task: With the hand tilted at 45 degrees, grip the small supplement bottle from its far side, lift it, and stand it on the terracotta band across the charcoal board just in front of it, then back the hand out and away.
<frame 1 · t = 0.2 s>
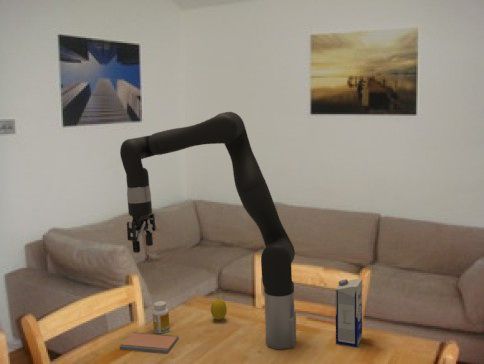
hand: (143, 248, 181), 29 cm above the table, tool pointing down, fingers open, 8 cm apart
supplement bottle: (161, 330, 187), on the table
lemon: (219, 320, 193), on the table
milk carton: (349, 341, 174), on the table
band board: (149, 344, 177), on the table
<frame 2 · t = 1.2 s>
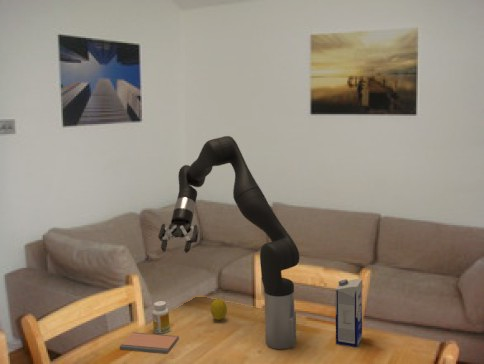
hand: (174, 251, 198), 23 cm above the table, tool tilted 45°, fingers open, 8 cm apart
nothing on the table moved.
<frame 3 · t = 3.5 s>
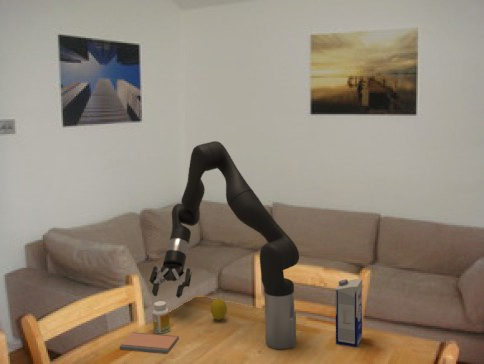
hand: (166, 296, 190), 10 cm above the table, tool tilted 45°, fingers open, 8 cm apart
nothing on the table moved.
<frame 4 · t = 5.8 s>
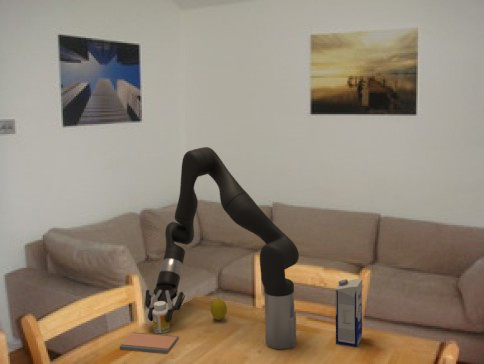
hand: (158, 320, 184), 4 cm above the table, tool tilted 45°, fingers closed on supplement bottle, 5 cm apart
supplement bottle: (161, 330, 187), on the table, touching gripper
everything else where it was.
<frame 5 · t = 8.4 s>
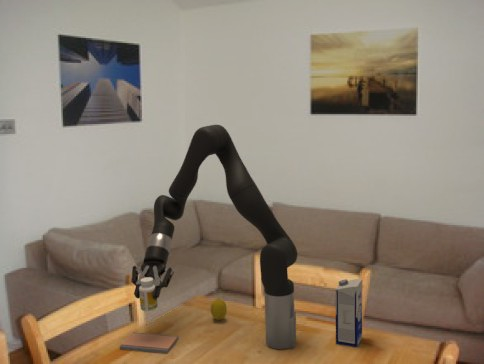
hand: (145, 297, 174), 16 cm above the table, tool tilted 45°, fingers closed on supplement bottle, 5 cm apart
supplement bottle: (149, 308, 176), point 11 cm above the table, touching gripper
everything else where it was.
when the fingers open (6 cm above the table, at t = 11.3 s): supplement bottle drops 1 cm, resting on band board.
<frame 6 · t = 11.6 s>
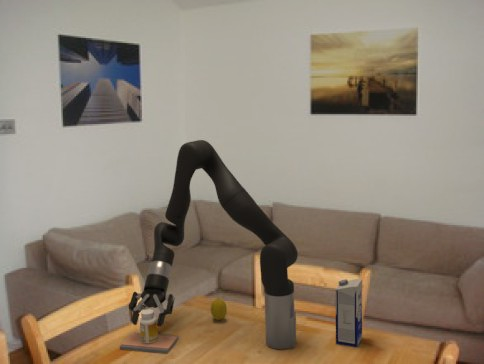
hand: (146, 325, 174), 7 cm above the table, tool tilted 45°, fingers open, 8 cm apart
supplement bottle: (149, 340, 177), point 1 cm above the table, touching band board
everything else where it was.
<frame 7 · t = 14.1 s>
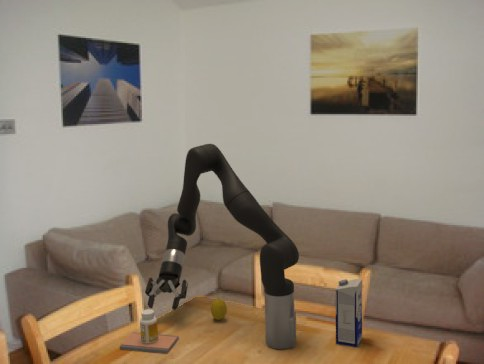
hand: (162, 308, 187), 7 cm above the table, tool tilted 45°, fingers open, 8 cm apart
nothing on the table moved.
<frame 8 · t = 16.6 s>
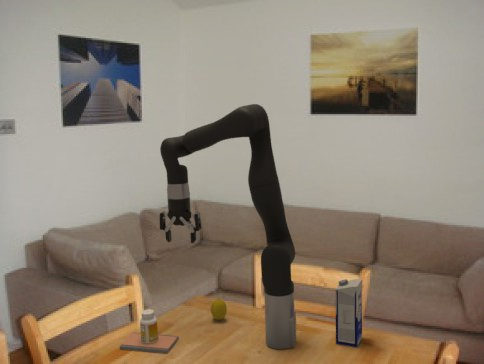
hand: (181, 242, 190), 28 cm above the table, tool pointing down, fingers open, 8 cm apart
nothing on the table moved.
at the end: supplement bottle inside the target area on the band board (0.2 cm from its centre), point 1.0 cm above the band board's base; supplement bottle tilted 0°; the gripper is holding nothing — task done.
